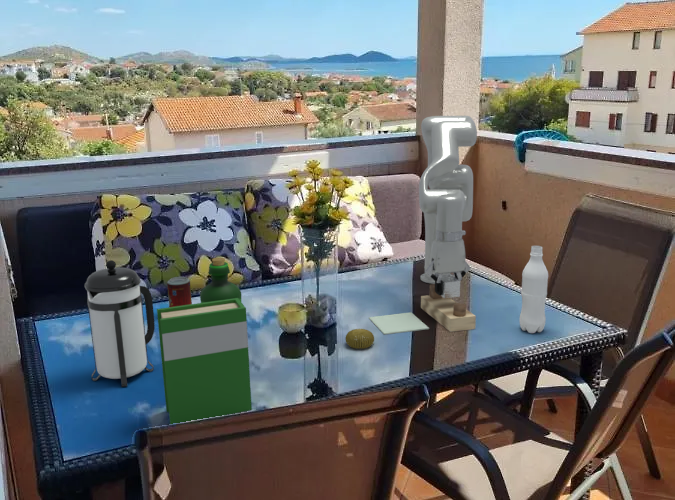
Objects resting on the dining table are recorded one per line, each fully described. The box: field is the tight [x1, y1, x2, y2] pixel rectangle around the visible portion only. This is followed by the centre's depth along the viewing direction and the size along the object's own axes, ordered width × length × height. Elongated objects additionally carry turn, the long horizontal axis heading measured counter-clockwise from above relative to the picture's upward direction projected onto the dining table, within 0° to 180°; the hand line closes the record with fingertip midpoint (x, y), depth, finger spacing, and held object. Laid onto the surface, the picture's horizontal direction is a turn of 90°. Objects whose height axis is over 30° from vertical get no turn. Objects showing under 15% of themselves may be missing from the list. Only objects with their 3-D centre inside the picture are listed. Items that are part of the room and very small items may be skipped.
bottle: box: [199, 257, 242, 303], centre depth 160 cm, size 11×11×28 cm
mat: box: [368, 311, 430, 335], centre depth 189 cm, size 14×14×1 cm
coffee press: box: [84, 260, 156, 388], centre depth 155 cm, size 17×16×30 cm
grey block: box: [441, 274, 461, 299], centre depth 191 cm, size 7×5×5 cm
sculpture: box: [345, 328, 375, 350], centre depth 173 cm, size 8×4×8 cm
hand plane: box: [420, 283, 477, 333], centre depth 192 cm, size 22×8×8 cm, turn 15°
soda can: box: [166, 276, 193, 307], centre depth 197 cm, size 7×7×12 cm
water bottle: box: [519, 245, 549, 334], centre depth 178 cm, size 7×7×25 cm
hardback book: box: [156, 298, 253, 424], centre depth 136 cm, size 18×7×24 cm, turn 112°
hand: (447, 292), depth 191 cm, fingers closed on grey block, 5 cm apart
